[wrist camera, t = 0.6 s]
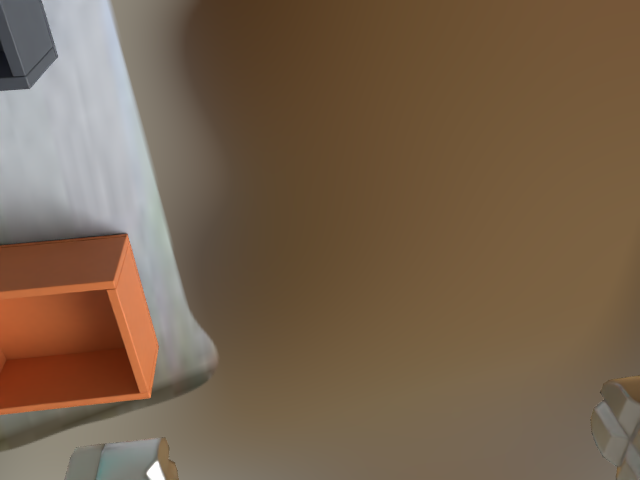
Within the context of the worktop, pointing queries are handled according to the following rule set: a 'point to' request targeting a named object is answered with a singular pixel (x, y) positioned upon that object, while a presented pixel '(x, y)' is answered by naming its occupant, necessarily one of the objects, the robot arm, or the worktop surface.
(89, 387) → the open orange-brown bin
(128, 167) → the worktop surface
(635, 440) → the robot arm
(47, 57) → the bin front
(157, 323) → the worktop surface
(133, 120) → the worktop surface
